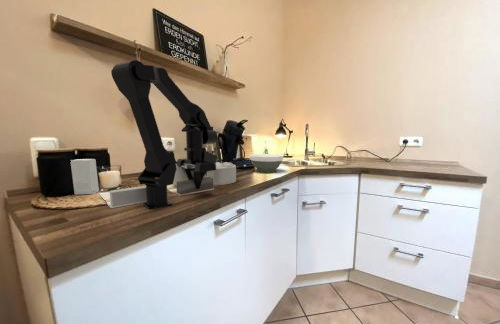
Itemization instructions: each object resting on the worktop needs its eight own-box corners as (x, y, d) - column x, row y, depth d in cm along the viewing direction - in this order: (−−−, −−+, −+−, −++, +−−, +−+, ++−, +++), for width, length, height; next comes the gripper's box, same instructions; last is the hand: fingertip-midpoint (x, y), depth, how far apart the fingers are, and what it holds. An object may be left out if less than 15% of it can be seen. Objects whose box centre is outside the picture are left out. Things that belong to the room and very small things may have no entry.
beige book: (214, 189, 85) (214, 178, 84) (179, 195, 75) (178, 183, 75) (189, 181, 99) (189, 171, 99) (158, 186, 90) (157, 175, 90)
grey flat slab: (161, 199, 71) (160, 185, 71) (110, 208, 62) (109, 192, 62) (142, 188, 86) (141, 177, 86) (99, 194, 77) (98, 181, 76)
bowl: (272, 175, 117) (272, 157, 116) (243, 171, 129) (242, 155, 128) (289, 170, 132) (289, 154, 131) (262, 167, 144) (262, 153, 143)
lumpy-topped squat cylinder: (204, 182, 99) (203, 162, 98) (227, 178, 108) (227, 160, 107) (218, 186, 91) (217, 165, 90) (241, 181, 100) (241, 162, 99)
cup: (164, 184, 92) (164, 164, 91) (182, 181, 97) (182, 163, 97) (176, 188, 84) (176, 167, 83) (195, 185, 90) (195, 165, 89)
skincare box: (99, 191, 81) (97, 158, 80) (92, 194, 77) (89, 159, 75) (81, 192, 81) (78, 158, 79) (72, 195, 76) (69, 160, 75)
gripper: (228, 145, 78) (229, 189, 79) (201, 143, 91) (202, 181, 93) (200, 146, 70) (201, 194, 72) (175, 144, 84) (176, 184, 86)
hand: (195, 187), depth 81 cm, fingers closed on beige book, 3 cm apart
